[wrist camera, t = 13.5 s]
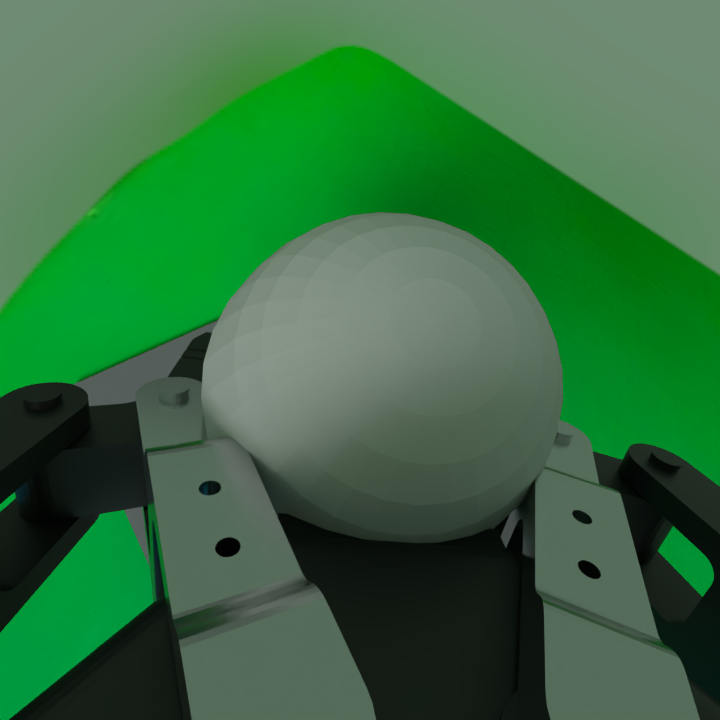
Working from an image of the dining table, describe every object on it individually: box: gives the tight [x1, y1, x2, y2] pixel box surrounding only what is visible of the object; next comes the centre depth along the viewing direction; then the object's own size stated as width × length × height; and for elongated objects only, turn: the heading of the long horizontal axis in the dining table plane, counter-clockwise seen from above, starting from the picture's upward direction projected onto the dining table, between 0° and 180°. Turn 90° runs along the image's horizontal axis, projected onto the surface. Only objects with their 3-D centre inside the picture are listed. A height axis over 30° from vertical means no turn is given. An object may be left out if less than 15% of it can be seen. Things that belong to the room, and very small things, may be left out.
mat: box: [74, 320, 218, 566], centre depth 20 cm, size 16×16×1 cm
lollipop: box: [201, 212, 563, 543], centre depth 12 cm, size 6×6×15 cm
